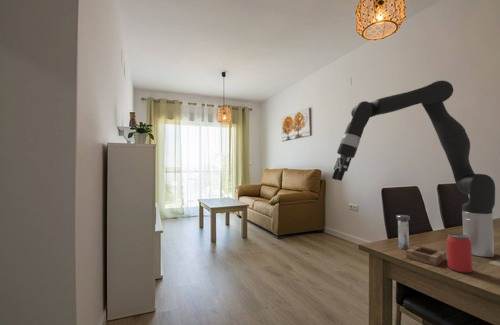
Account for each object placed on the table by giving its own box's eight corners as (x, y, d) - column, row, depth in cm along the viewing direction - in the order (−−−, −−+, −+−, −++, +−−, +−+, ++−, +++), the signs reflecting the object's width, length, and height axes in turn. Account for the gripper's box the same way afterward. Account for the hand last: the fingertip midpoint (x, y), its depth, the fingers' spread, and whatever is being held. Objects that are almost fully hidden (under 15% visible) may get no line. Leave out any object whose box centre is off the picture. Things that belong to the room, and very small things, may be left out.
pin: (400, 245, 111) (399, 214, 112) (412, 248, 107) (411, 216, 107) (394, 247, 109) (393, 215, 109) (407, 250, 104) (406, 217, 105)
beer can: (463, 274, 81) (462, 239, 81) (443, 267, 87) (441, 233, 87) (477, 272, 82) (475, 237, 83) (456, 264, 89) (455, 232, 89)
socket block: (417, 252, 102) (417, 245, 102) (446, 259, 94) (446, 252, 94) (406, 257, 96) (406, 250, 97) (436, 265, 88) (435, 257, 88)
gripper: (362, 147, 99) (349, 183, 100) (352, 149, 114) (340, 181, 114) (345, 141, 100) (331, 177, 101) (336, 144, 114) (325, 176, 115)
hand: (336, 179), depth 107 cm, fingers open, 8 cm apart
